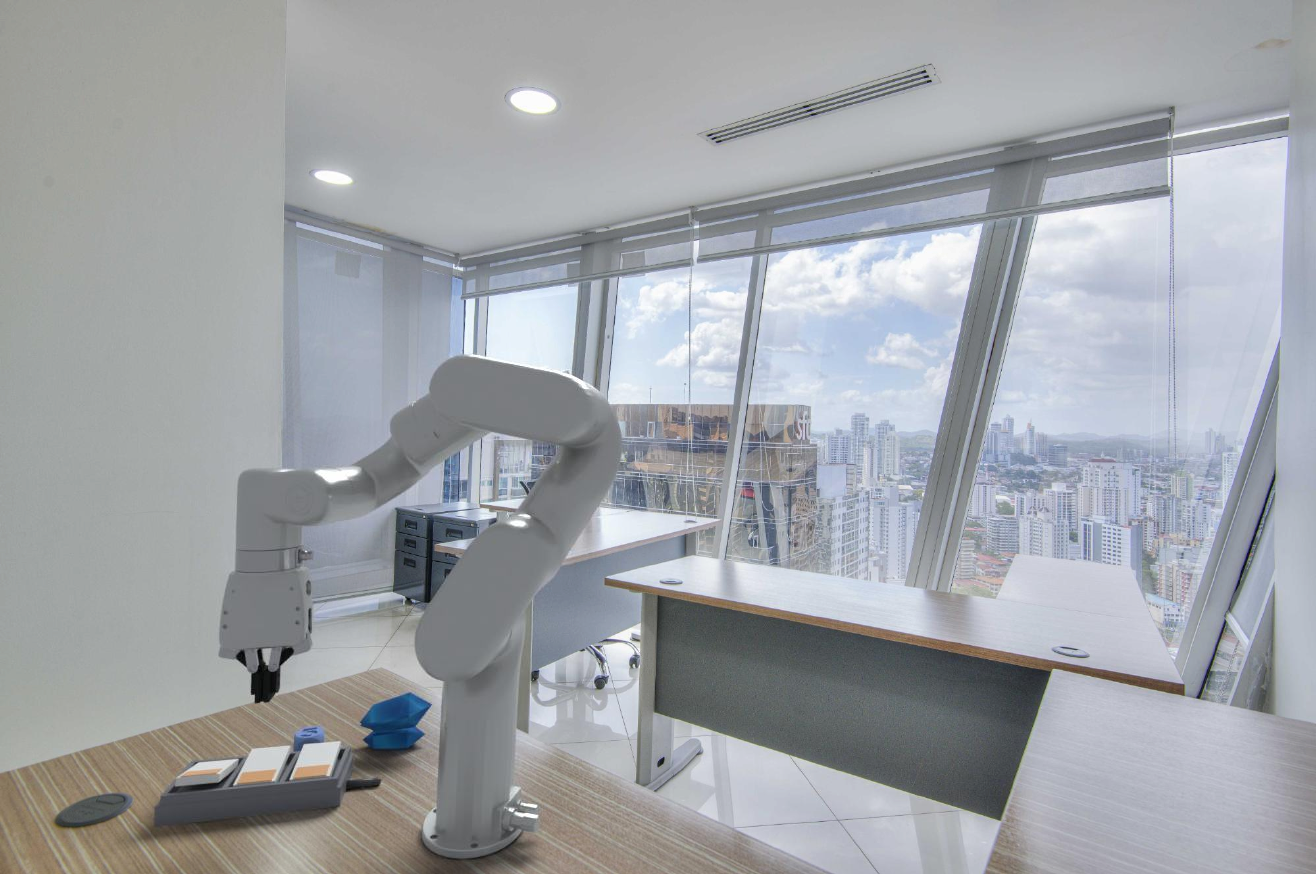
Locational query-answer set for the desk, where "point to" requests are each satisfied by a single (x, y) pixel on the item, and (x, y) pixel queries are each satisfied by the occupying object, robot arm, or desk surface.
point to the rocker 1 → (207, 772)
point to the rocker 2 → (316, 761)
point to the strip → (256, 793)
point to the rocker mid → (263, 766)
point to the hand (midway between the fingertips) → (265, 698)
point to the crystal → (395, 722)
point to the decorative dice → (308, 737)
